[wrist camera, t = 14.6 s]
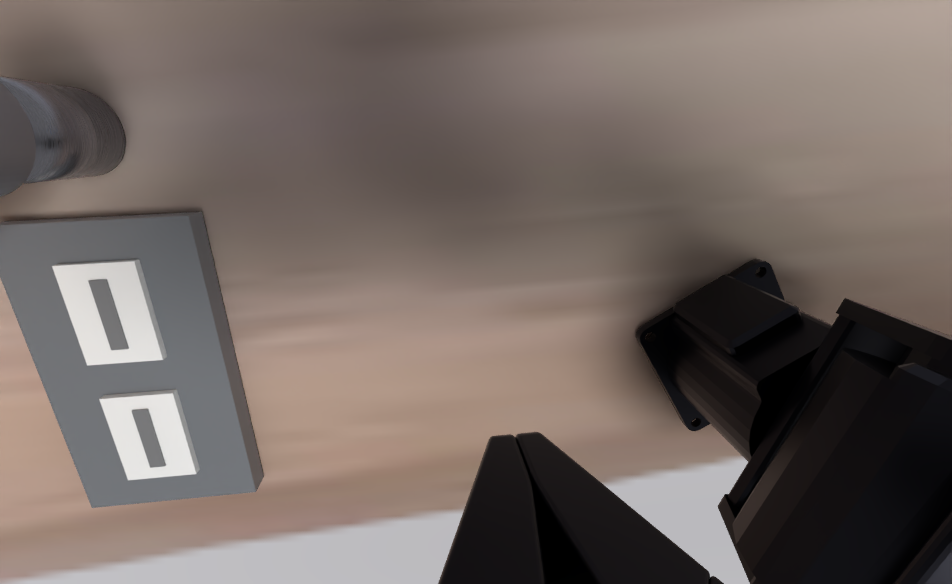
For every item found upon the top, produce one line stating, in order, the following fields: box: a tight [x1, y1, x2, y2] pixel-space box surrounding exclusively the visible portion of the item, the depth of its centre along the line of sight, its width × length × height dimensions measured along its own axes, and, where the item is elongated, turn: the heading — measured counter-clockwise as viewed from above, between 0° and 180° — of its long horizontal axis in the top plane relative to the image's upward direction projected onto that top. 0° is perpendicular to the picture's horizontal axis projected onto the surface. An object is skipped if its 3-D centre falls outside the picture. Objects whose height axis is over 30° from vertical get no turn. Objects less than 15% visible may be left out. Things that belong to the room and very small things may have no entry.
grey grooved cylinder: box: [0, 77, 125, 183], centre depth 14 cm, size 3×3×4 cm
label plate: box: [0, 212, 264, 508], centre depth 18 cm, size 12×7×1 cm, turn 2°
